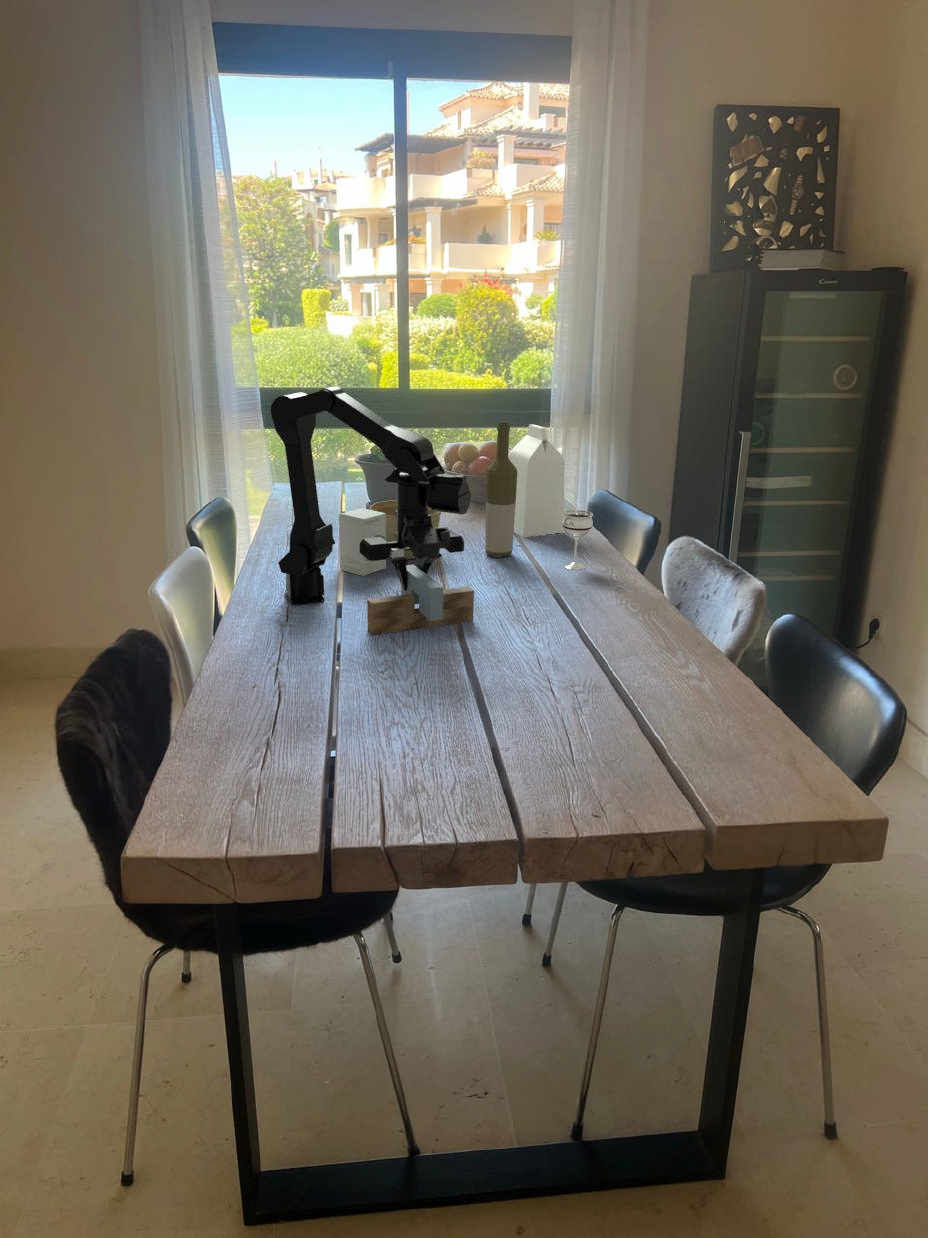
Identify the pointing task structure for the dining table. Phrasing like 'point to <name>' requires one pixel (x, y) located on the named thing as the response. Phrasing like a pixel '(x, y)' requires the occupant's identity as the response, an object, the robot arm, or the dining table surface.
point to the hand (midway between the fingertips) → (412, 589)
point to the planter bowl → (391, 520)
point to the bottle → (500, 498)
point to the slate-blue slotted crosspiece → (424, 593)
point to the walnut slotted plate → (417, 611)
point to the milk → (538, 485)
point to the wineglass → (577, 530)
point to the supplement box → (360, 539)
